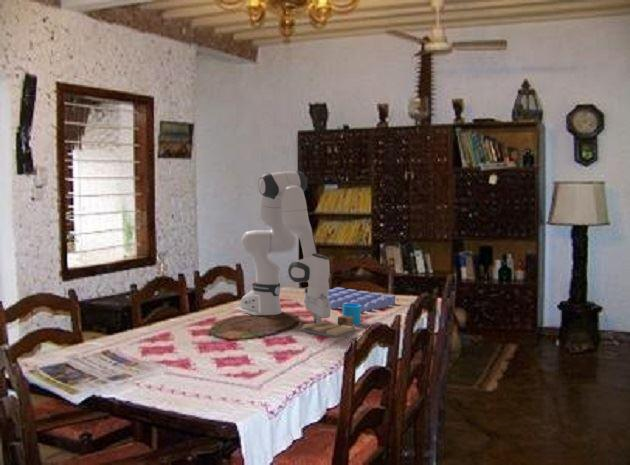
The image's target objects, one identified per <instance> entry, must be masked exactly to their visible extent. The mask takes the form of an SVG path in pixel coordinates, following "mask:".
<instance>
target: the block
mask: <svg viewBox="0 0 630 465" xmlns="http://www.w3.org/2000/svg"><path fill="white" fill-rule="evenodd" d="M353 318H354V317H352V316H346V315H343V314H342V315H340V316H338V317H337V324H339V325H340V326H341V325H346V326H352V327H353V328H354V325H353Z"/></svg>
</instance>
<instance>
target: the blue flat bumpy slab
mask: <svg viewBox="0 0 630 465" xmlns="http://www.w3.org/2000/svg"><path fill="white" fill-rule="evenodd" d="M327 299H328V300H329V301H330V310H337V309H339V308H342V309H343V304H347V303H353V304H359V305H361V314H363V313H364V312H371V311H373V310H380V309H382V308H387V307H388V306H394V305H395V304H396V295H393V294H384V295H383V293H379V292H371V293H370V291H365V290H359V291H358V290H357V289H353V288H352V289H351V288H348V289H346V287H340V286H337V287H334V288H332V289H331V288H329V296H328V297H327ZM303 300H304V303H305V298H304V299H303Z"/></svg>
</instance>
